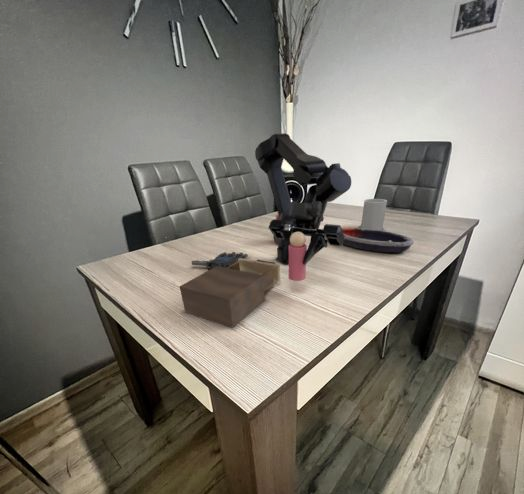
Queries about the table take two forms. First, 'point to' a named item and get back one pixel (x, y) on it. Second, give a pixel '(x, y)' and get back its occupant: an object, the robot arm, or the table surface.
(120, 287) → the table surface
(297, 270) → the doll
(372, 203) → the cup
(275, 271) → the drawer
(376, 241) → the dish
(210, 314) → the cabinet
